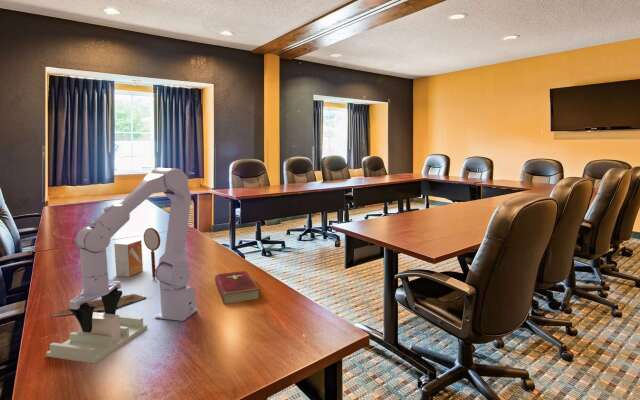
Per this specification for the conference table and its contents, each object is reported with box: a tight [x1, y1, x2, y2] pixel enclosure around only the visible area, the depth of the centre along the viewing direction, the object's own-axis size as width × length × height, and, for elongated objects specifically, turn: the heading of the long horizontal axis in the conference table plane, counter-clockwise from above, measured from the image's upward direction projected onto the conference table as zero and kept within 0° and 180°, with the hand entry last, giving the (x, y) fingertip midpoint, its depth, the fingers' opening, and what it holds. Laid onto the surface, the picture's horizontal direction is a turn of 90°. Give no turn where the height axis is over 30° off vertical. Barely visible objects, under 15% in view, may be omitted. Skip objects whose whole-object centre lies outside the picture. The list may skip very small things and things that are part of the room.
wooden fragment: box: [52, 293, 147, 317], centre depth 122 cm, size 26×11×1 cm, turn 120°
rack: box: [45, 314, 148, 364], centre depth 100 cm, size 14×18×3 cm
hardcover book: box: [214, 269, 260, 305], centre depth 135 cm, size 12×21×4 cm, turn 22°
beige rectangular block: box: [77, 311, 121, 342], centre depth 99 cm, size 10×3×6 cm, turn 77°
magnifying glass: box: [143, 227, 161, 280], centre depth 146 cm, size 9×2×20 cm, turn 61°
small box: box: [113, 238, 144, 278], centre depth 153 cm, size 8×6×13 cm
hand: (99, 324), depth 99 cm, fingers open, 7 cm apart
